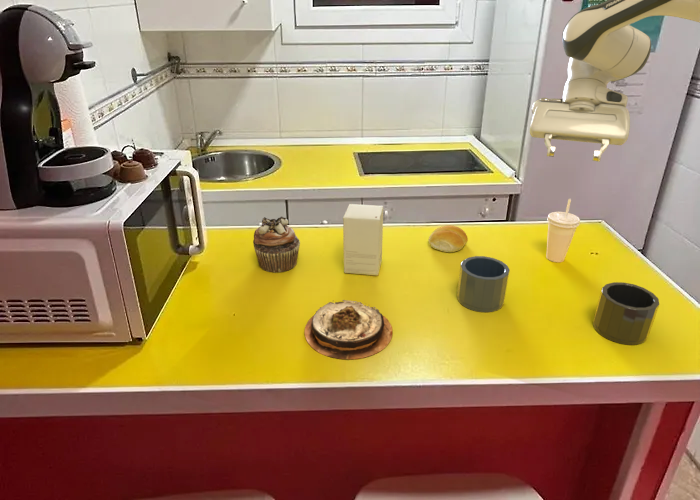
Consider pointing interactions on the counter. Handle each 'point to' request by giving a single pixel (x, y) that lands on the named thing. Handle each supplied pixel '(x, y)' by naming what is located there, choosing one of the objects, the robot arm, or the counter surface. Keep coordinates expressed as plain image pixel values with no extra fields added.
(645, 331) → the cup
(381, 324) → the frosted layer cake
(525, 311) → the counter surface
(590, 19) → the robot arm
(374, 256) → the white packaging box
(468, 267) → the cup
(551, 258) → the smoothie
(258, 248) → the cupcake
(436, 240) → the bread roll
